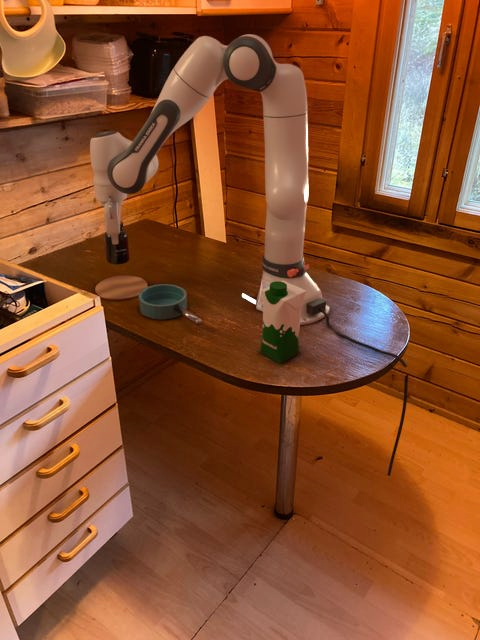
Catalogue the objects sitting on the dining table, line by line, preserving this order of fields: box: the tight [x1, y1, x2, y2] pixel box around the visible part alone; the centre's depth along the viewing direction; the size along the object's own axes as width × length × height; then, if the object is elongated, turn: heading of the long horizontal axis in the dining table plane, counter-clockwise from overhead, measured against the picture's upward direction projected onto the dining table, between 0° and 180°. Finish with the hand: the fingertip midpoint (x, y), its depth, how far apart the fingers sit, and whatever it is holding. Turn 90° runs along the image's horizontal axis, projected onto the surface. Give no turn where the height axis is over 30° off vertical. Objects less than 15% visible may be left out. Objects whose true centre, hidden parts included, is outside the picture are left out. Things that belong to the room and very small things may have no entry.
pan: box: [138, 283, 188, 321], centre depth 148 cm, size 14×14×4 cm
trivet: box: [94, 275, 149, 301], centre depth 159 cm, size 16×16×1 cm
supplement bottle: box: [103, 220, 130, 266], centre depth 151 cm, size 7×7×12 cm
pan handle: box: [174, 304, 203, 327], centre depth 139 cm, size 12×2×2 cm, turn 41°
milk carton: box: [259, 281, 306, 365], centre depth 125 cm, size 9×9×20 cm
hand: (115, 238), depth 151 cm, fingers closed on supplement bottle, 7 cm apart
